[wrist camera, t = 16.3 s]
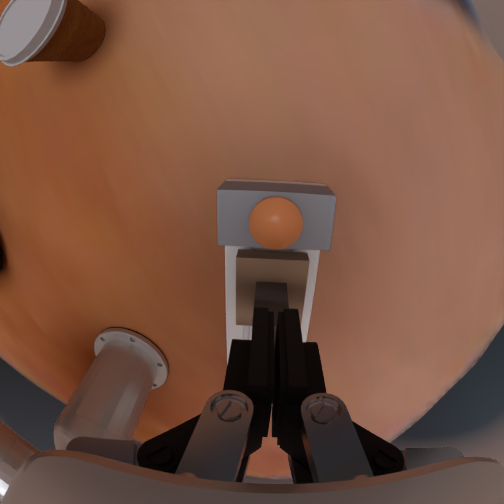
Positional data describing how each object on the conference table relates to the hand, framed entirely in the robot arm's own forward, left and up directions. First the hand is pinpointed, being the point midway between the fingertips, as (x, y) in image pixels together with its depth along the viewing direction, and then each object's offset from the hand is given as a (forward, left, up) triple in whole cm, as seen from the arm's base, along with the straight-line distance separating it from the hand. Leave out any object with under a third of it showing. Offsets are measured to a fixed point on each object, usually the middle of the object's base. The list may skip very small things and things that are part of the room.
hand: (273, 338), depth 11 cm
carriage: (-7, -3, -19) cm, 20 cm away
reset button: (0, 0, -16) cm, 16 cm away
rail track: (-12, -5, -21) cm, 25 cm away
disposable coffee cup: (+12, +29, -21) cm, 38 cm away
